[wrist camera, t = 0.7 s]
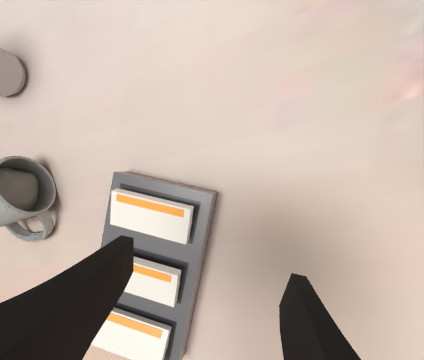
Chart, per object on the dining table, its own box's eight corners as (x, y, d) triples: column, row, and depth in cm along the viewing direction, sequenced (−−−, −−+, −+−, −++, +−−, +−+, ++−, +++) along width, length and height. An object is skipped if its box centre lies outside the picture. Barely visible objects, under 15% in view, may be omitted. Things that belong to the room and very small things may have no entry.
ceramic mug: (1, 177, 35) (-69, 179, 27) (46, 156, 33) (-16, 153, 26) (26, 246, 35) (-38, 267, 27) (72, 228, 33) (17, 246, 26)
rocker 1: (189, 238, 27) (185, 245, 25) (117, 219, 28) (109, 224, 27) (194, 205, 26) (190, 210, 24) (118, 187, 27) (110, 190, 26)
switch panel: (184, 354, 30) (176, 373, 27) (100, 324, 33) (84, 339, 30) (217, 191, 29) (212, 194, 26) (127, 171, 31) (113, 171, 28)
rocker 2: (163, 363, 27) (159, 370, 25) (92, 337, 28) (84, 342, 27) (172, 325, 27) (168, 331, 26) (102, 302, 29) (95, 306, 28)
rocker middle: (178, 298, 27) (173, 307, 26) (106, 276, 29) (99, 284, 27) (182, 268, 26) (177, 276, 25) (108, 247, 28) (100, 253, 26)
